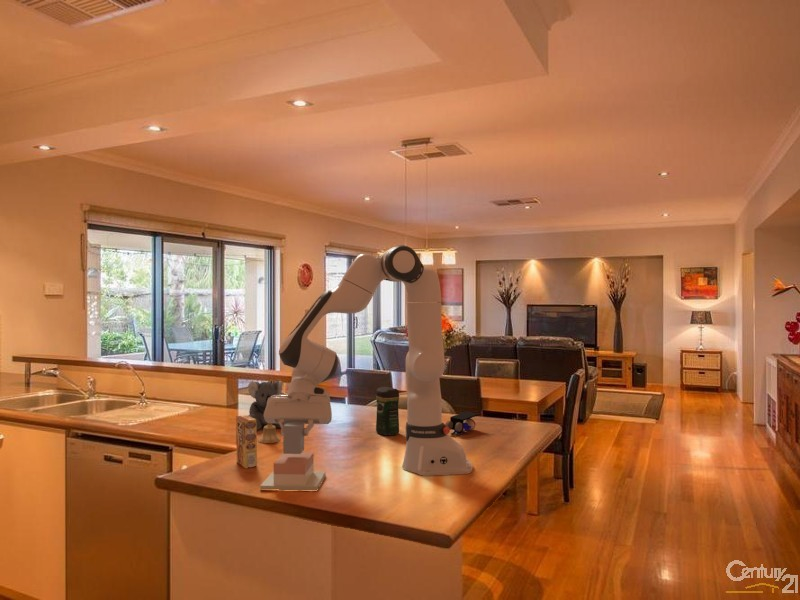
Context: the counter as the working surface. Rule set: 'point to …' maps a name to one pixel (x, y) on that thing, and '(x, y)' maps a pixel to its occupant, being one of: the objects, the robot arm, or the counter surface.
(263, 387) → the koala plush
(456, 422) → the figurine character
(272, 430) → the hand bell
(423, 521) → the counter surface
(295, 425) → the slate brick
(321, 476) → the brick tower base
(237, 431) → the candy box
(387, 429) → the coffee jar
